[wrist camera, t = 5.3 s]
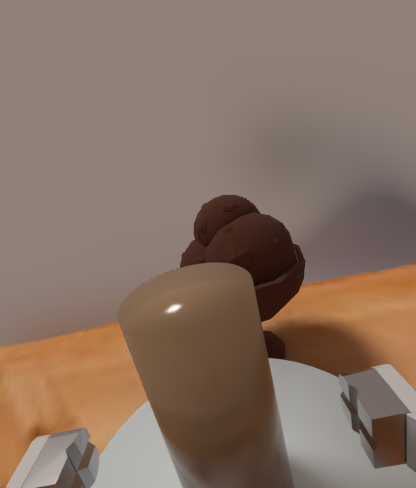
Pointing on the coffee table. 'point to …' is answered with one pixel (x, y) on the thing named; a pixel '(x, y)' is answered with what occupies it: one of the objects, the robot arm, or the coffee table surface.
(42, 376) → the coffee table surface
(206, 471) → the hexagonal peg stand
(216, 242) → the ice cream bowl
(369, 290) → the coffee table surface
